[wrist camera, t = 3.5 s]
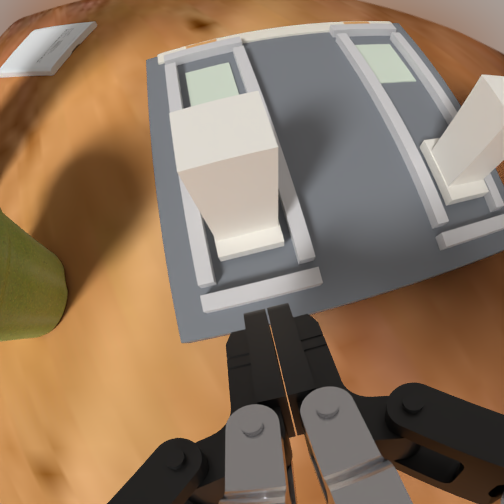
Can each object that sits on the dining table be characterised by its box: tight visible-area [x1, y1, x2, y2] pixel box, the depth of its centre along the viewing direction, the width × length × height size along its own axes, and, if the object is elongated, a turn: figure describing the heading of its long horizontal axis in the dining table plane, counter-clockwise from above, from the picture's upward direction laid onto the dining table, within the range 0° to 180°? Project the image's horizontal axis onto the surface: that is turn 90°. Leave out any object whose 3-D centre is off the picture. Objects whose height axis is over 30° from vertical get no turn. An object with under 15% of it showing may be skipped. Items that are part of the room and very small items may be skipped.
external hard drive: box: [0, 21, 97, 78], centre depth 26 cm, size 2×8×12 cm
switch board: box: [146, 21, 504, 343], centre depth 19 cm, size 22×21×2 cm
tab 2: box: [420, 75, 504, 206], centre depth 13 cm, size 3×4×8 cm
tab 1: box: [169, 91, 284, 261], centre depth 13 cm, size 3×4×8 cm
